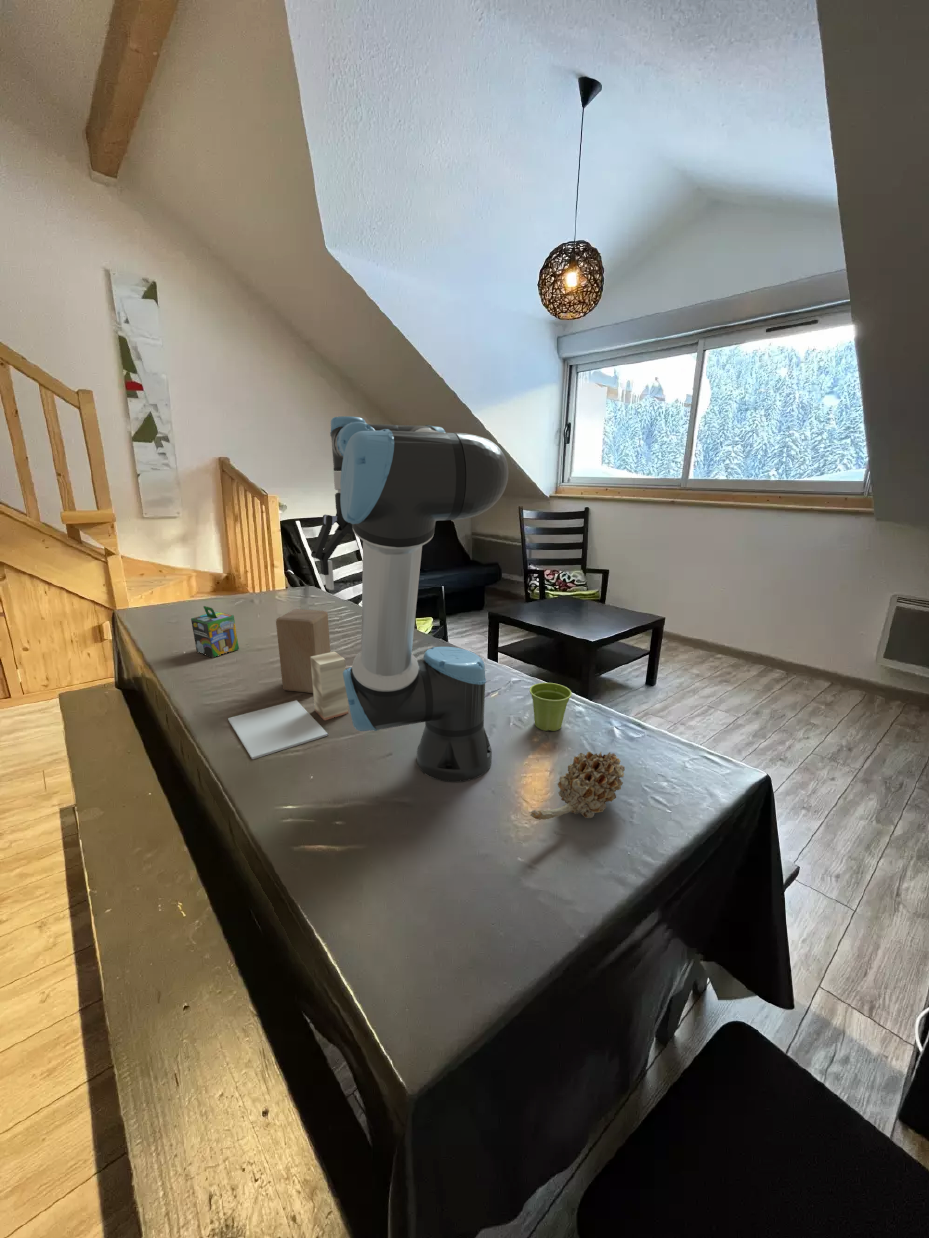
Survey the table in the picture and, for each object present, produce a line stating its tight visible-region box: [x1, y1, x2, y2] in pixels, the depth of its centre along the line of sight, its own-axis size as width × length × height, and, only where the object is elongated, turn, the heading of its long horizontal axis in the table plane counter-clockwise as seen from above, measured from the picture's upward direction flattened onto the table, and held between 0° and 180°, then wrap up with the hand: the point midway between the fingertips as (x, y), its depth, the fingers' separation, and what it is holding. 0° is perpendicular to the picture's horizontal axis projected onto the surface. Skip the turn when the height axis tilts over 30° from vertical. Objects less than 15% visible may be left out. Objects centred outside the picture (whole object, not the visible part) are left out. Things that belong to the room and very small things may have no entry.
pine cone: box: [528, 751, 626, 821], centre depth 85 cm, size 22×10×10 cm, turn 135°
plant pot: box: [529, 682, 573, 732], centre depth 116 cm, size 9×9×9 cm
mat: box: [227, 699, 329, 760], centre depth 114 cm, size 20×16×1 cm
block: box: [275, 608, 331, 694], centre depth 133 cm, size 10×10×20 cm
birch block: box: [310, 651, 349, 721], centre depth 120 cm, size 6×6×14 cm
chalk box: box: [190, 605, 240, 658], centre depth 157 cm, size 9×9×15 cm
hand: (357, 585), depth 119 cm, fingers open, 13 cm apart
